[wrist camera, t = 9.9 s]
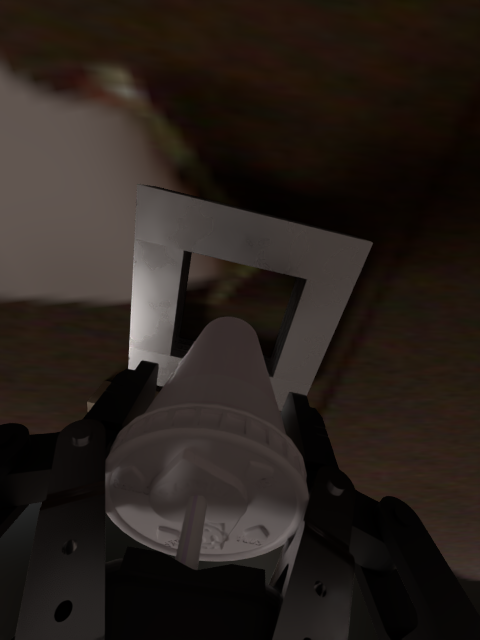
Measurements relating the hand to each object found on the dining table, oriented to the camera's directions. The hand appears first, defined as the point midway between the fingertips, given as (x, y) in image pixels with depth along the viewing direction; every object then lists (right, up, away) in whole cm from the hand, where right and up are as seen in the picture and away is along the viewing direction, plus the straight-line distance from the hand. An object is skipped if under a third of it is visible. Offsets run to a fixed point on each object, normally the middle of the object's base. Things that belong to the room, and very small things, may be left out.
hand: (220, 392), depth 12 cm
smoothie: (0, +2, +4) cm, 5 cm away
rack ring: (+1, +5, +10) cm, 11 cm away
